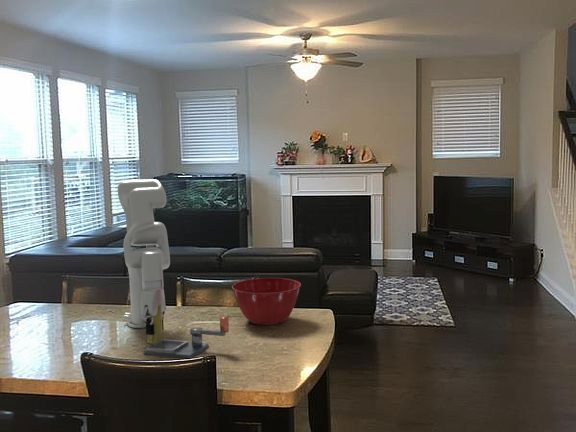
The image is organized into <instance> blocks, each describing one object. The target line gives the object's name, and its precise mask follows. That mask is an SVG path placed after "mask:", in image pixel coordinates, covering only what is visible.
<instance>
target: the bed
mask: <svg viewBox="0 0 576 432" xmlns="http://www.w3.org/2000/svg"><path fill="white" fill-rule="evenodd" d="M209 345H210V344H209V343H208V342H207V343H206V342H203V334H201V335H191V341H188V340H177V339H165V338H163V339H162V340H160V341H158V342H156V343H154V344H150V345H149V346H147V347H146V349H145V350H143V355H147V356H155V357H156V356H157V357H166V358H167V357H168V358H179V359H185V358H191V359H192V358H194V357H195V356H196V355H198V354H199V353H202V351H204V350H205V349H207V348H208V347H209Z"/></svg>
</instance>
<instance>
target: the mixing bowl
mask: <svg viewBox="0 0 576 432" xmlns="http://www.w3.org/2000/svg"><path fill="white" fill-rule="evenodd" d="M301 286H302V284H301V282H300V281H298V280H295V279H291V278H283V277H258V278H249V279H244V280H241V281H237V282H235V283H234V284H233V285H231V288H232V290H233V293H234V297H235V300H236V303H237V305H238V308H239V309H240V311H241V313H242V314H243V316H244V317H245V318H246V319H247V320H248V322H251V323H252V324H254V325H258V326H274V325H278V324H281V323H283V322H284V321H286V320H287V319H288V318H289V317H290V316H291V313H292V312H293V309H294V308H295V305H296V303H297V300H298V296H299V293H300V288H301Z"/></svg>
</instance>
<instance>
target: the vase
mask: <svg viewBox="0 0 576 432" xmlns="http://www.w3.org/2000/svg"><path fill="white" fill-rule="evenodd" d="M148 316H150V314H148ZM148 318H149V319H151V318H150V317H148ZM162 320H163V319H162V314H161V304H160V305H158V311H157V315H155V316H154V319H153V324H154V335H147V334H146V335H147V336H146V337H147V339H146V343H147V344H148V345H153V344H154V343H156V342H158V341H160V340H162V339H164V333H163V331H164V330H163V328H162Z"/></svg>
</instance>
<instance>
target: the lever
mask: <svg viewBox="0 0 576 432" xmlns="http://www.w3.org/2000/svg"><path fill="white" fill-rule="evenodd" d="M229 325H230V324H229V316H220V317H219V330H217V329H207V328H206V329H205V328H202V327H193V328H190V331H189V333H190V335H191V336H192V335H201V334H202V335H207V336H218V337H224V336H226V334H227V333H229V332H230V327H229Z"/></svg>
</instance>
